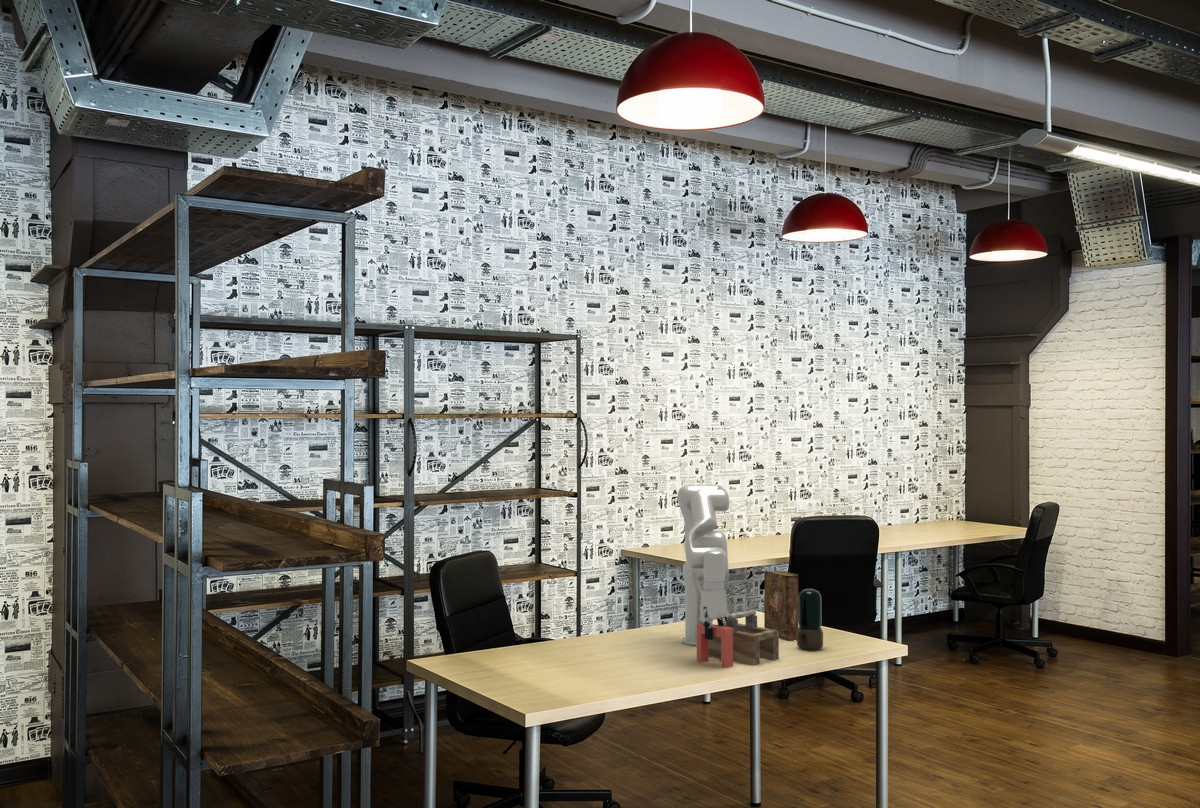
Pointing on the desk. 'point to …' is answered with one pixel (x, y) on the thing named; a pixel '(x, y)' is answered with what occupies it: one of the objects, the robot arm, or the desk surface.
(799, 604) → the lamp
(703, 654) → the red arch block
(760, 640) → the tan hollow frame
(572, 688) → the desk surface
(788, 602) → the book
